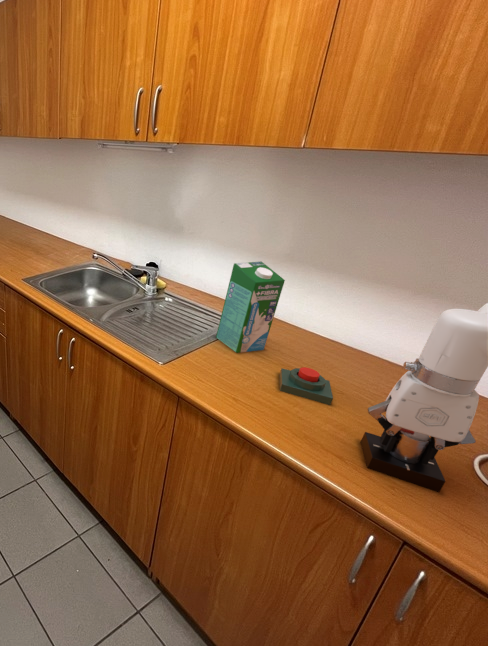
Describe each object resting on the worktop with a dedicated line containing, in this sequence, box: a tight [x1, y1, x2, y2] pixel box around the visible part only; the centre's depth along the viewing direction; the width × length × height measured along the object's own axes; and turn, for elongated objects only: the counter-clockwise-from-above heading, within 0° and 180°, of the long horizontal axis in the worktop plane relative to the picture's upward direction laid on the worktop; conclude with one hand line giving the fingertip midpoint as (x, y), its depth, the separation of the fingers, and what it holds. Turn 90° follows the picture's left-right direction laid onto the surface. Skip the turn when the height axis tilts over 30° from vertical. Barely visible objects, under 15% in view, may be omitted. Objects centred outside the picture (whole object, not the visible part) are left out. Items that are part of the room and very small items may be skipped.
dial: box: [389, 428, 430, 464], centre depth 76 cm, size 4×4×6 cm
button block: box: [278, 367, 334, 406], centre depth 99 cm, size 10×8×4 cm
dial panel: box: [359, 431, 446, 493], centre depth 78 cm, size 10×9×3 cm
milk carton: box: [215, 261, 286, 354], centre depth 115 cm, size 9×9×25 cm
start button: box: [298, 366, 321, 382], centre depth 98 cm, size 4×4×2 cm
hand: (403, 452), depth 77 cm, fingers closed on dial, 4 cm apart
